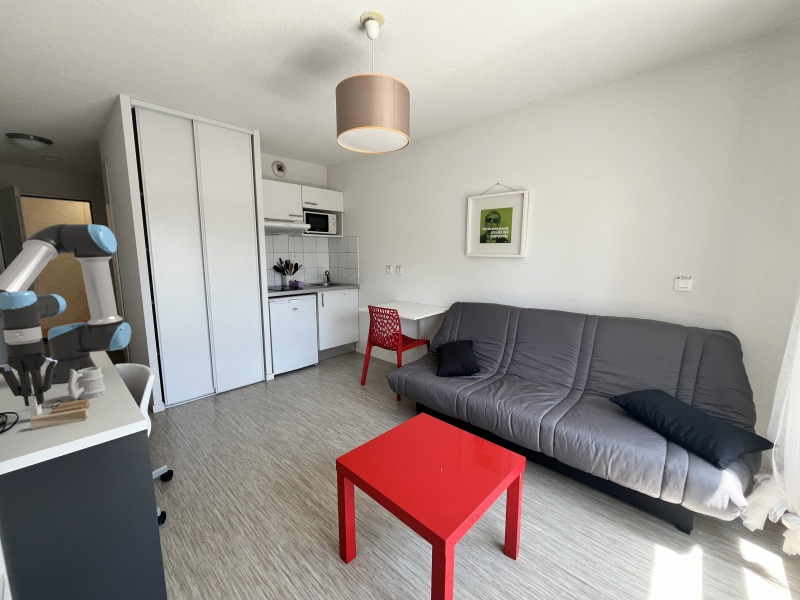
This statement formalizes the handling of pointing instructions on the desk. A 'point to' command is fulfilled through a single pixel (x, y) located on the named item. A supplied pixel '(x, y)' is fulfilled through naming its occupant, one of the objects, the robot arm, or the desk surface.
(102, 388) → the mug
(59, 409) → the slab
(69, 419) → the rail
